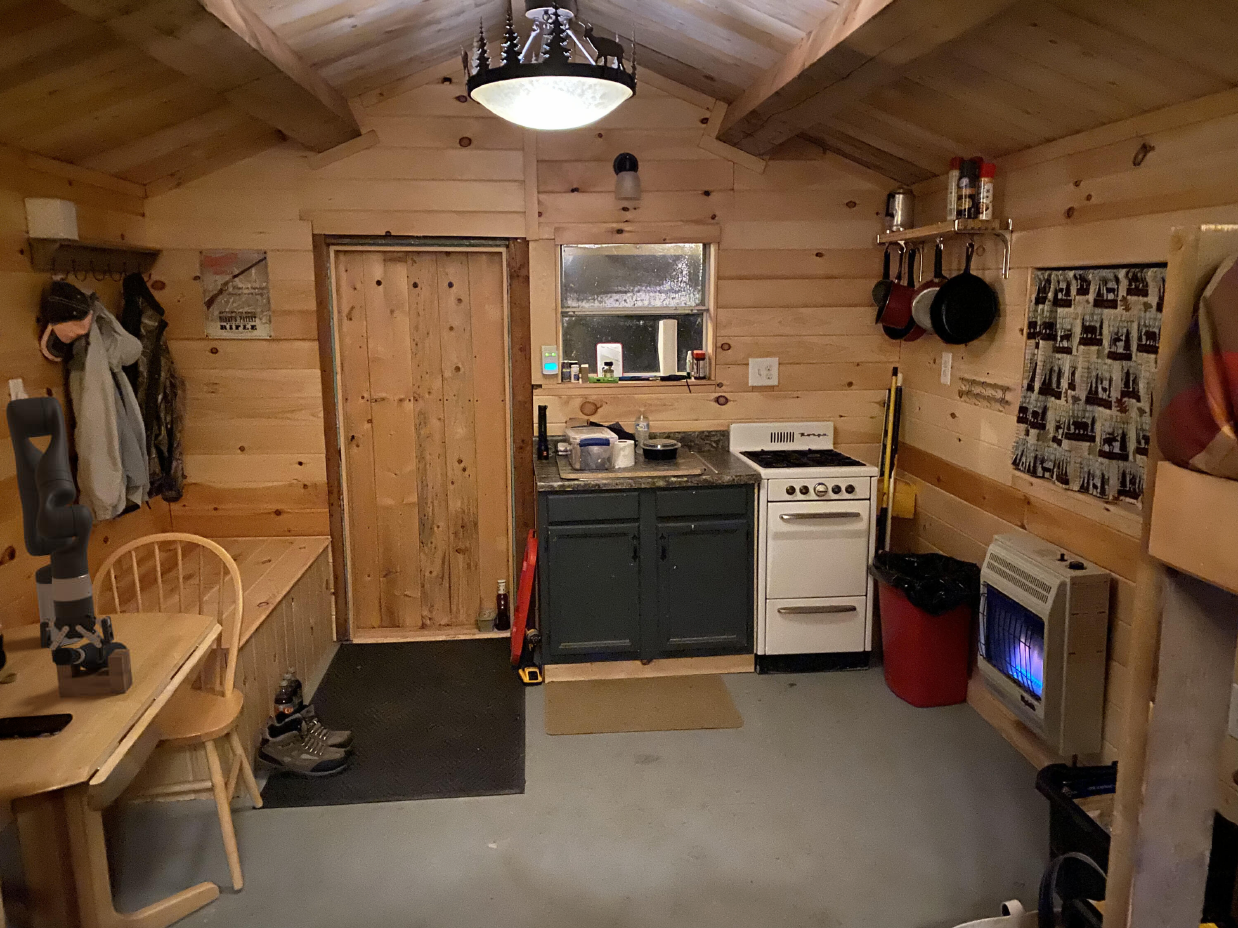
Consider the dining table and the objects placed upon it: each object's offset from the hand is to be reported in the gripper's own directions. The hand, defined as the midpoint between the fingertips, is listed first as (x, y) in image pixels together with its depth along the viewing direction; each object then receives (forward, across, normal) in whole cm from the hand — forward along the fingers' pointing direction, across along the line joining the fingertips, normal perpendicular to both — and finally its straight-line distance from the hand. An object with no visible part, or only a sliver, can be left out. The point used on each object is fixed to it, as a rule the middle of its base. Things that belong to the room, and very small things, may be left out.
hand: (80, 662), depth 203 cm
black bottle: (+7, -1, +22) cm, 23 cm away
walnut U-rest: (+10, 0, +7) cm, 12 cm away
